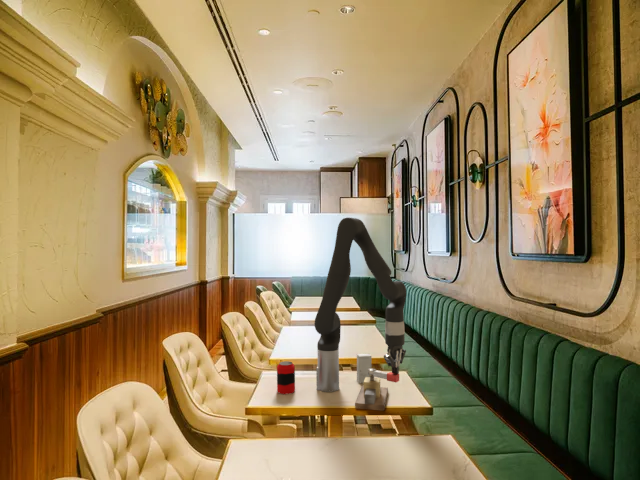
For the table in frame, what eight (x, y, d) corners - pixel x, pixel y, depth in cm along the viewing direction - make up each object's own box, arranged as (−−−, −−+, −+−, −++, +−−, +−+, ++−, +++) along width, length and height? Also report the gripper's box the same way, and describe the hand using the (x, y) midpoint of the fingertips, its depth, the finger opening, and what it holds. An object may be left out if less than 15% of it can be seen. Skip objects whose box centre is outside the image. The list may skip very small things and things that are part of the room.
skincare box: (358, 383, 186) (358, 356, 186) (356, 380, 190) (356, 353, 190) (372, 382, 187) (371, 355, 187) (369, 379, 191) (369, 353, 191)
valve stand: (355, 408, 159) (354, 383, 159) (361, 390, 177) (361, 368, 177) (384, 410, 156) (383, 385, 156) (387, 392, 175) (387, 369, 175)
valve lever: (366, 376, 166) (366, 369, 166) (370, 373, 169) (370, 367, 169) (395, 382, 158) (395, 376, 158) (399, 380, 161) (399, 373, 161)
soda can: (296, 393, 175) (296, 365, 175) (278, 395, 173) (278, 366, 173) (293, 387, 182) (293, 360, 182) (276, 389, 180) (275, 361, 180)
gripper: (395, 327, 171) (396, 369, 171) (377, 333, 161) (377, 378, 161) (411, 330, 166) (412, 373, 166) (393, 336, 156) (394, 382, 156)
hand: (395, 375), depth 164 cm, fingers closed
